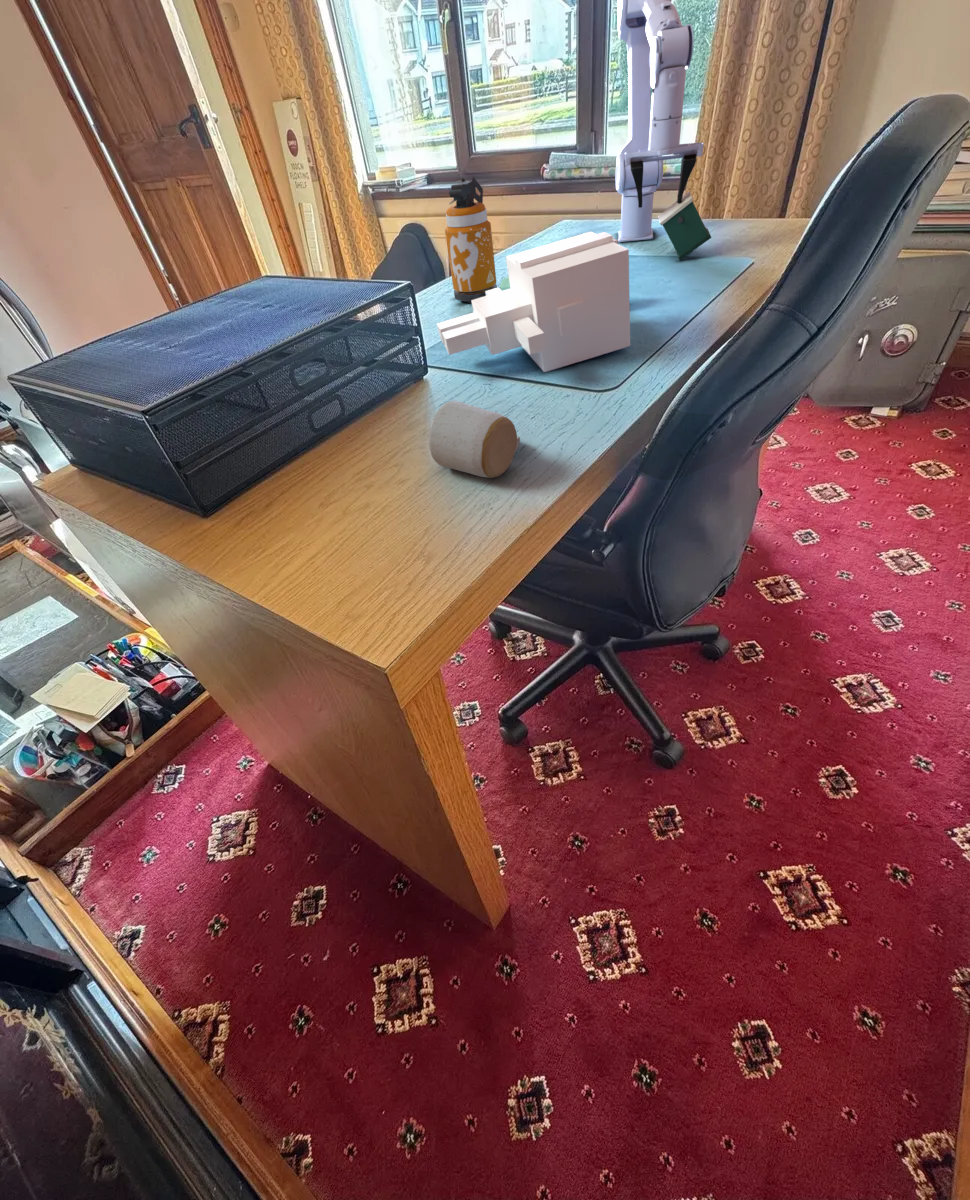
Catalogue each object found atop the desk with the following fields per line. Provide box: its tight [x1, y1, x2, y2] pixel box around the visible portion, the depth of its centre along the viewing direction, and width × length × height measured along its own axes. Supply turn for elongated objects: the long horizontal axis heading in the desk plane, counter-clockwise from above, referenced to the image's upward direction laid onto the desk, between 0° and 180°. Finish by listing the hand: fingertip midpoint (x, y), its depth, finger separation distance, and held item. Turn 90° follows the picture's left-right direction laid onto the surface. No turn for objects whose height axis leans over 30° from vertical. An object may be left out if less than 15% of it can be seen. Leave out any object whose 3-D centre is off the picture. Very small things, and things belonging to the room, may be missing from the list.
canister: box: [444, 176, 498, 304], centre depth 111 cm, size 9×11×20 cm
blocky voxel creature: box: [436, 230, 631, 373], centre depth 87 cm, size 15×25×28 cm
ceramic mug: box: [428, 400, 521, 479], centre depth 66 cm, size 11×8×8 cm
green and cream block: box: [658, 190, 712, 262], centre depth 117 cm, size 9×8×7 cm
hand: (659, 204), depth 115 cm, fingers open, 7 cm apart
